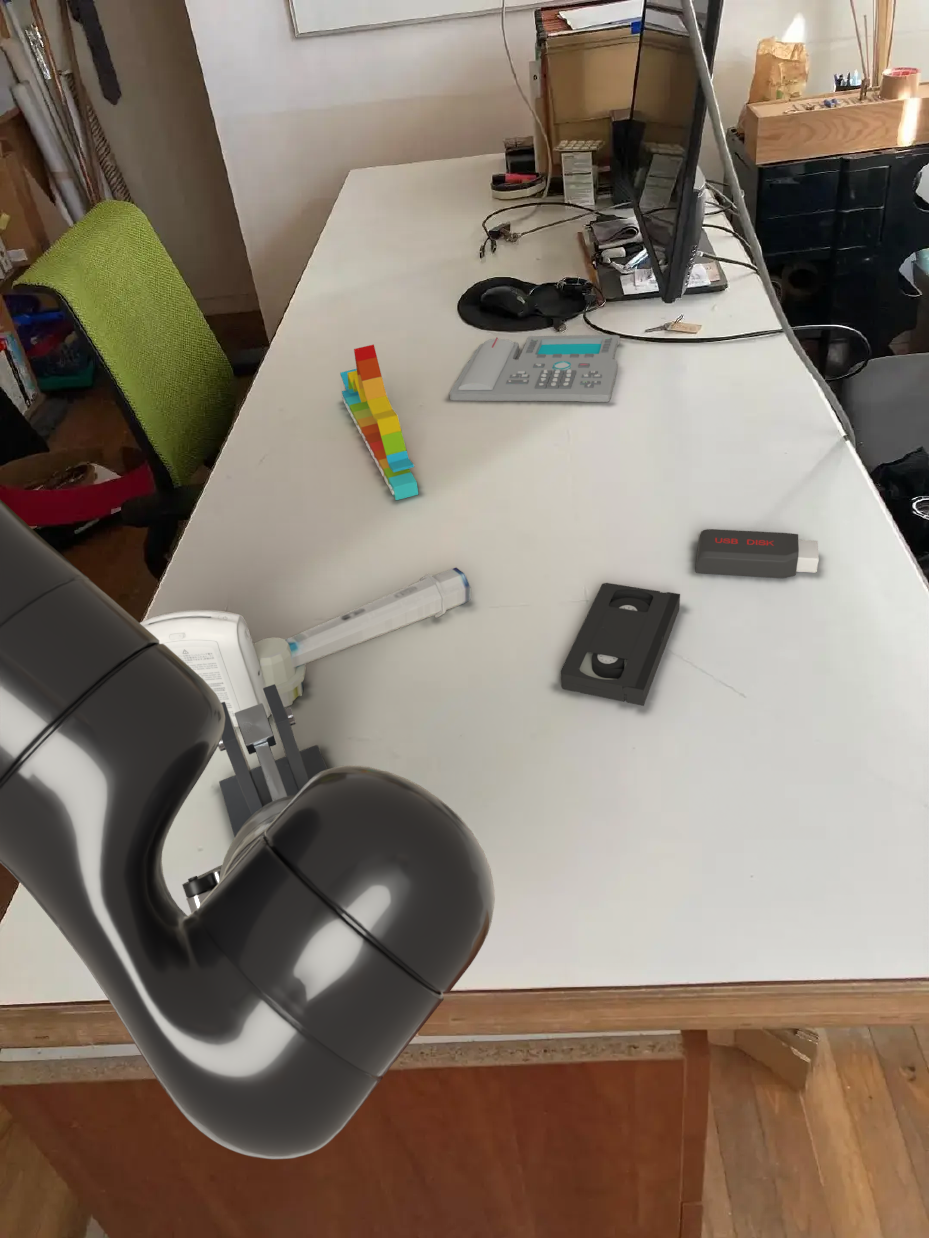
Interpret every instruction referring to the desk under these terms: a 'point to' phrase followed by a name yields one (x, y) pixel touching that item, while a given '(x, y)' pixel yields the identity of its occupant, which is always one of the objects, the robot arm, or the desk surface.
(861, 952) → the desk surface
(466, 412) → the desk surface
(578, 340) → the office telephone
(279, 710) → the dark grey pivot stand
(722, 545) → the usb drive
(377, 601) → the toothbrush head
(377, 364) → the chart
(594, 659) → the vhs tape
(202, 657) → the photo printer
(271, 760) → the lever with ball knob
